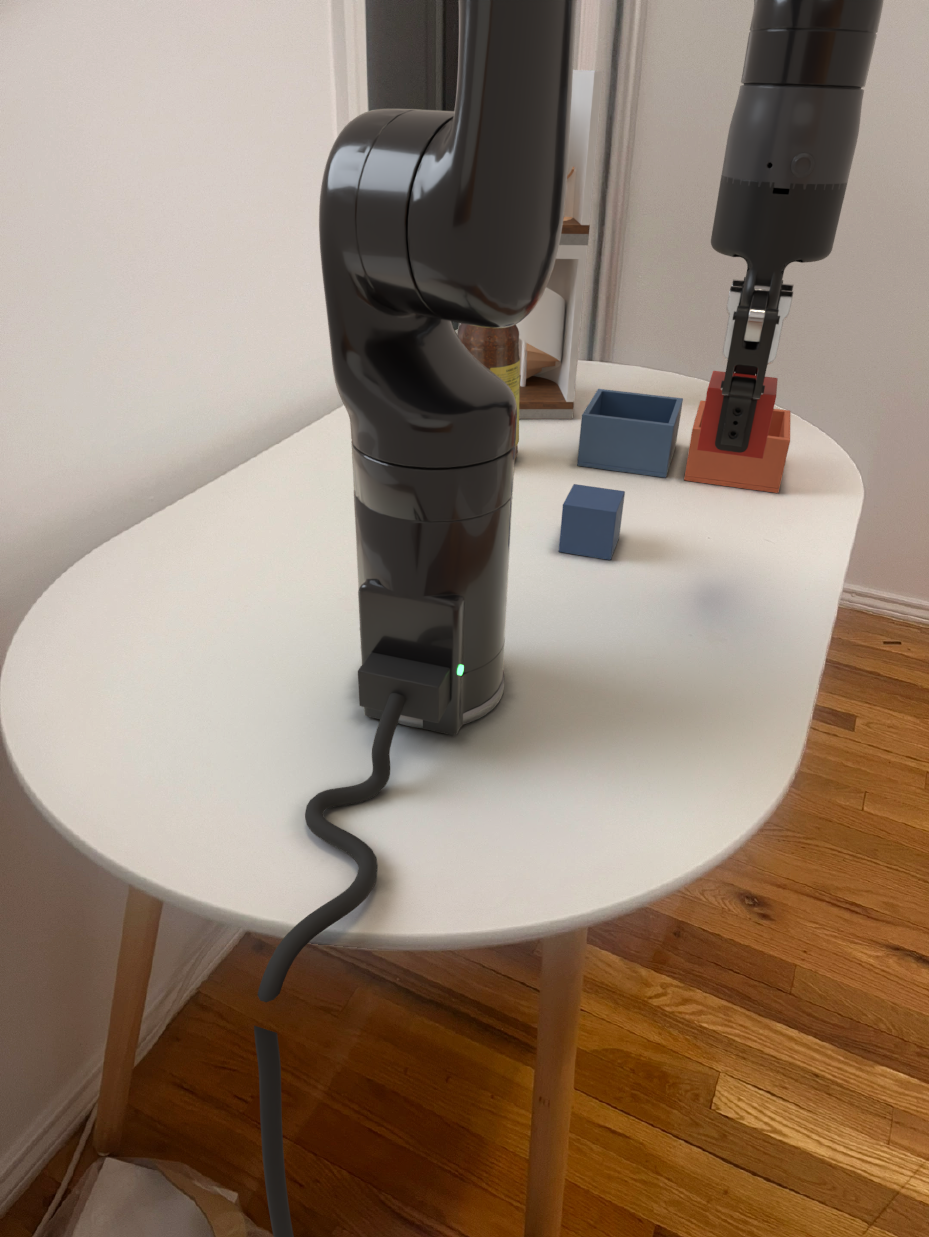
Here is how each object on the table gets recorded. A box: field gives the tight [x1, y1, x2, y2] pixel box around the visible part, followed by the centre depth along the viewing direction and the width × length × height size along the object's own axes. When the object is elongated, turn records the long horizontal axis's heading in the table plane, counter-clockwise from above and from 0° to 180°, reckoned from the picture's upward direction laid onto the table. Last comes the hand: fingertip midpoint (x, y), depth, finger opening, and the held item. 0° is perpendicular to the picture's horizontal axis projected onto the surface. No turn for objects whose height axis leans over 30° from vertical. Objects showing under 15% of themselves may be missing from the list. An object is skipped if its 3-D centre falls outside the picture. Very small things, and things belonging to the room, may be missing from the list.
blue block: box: [558, 483, 626, 561], centre depth 75 cm, size 4×4×4 cm
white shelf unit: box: [516, 69, 605, 420], centre depth 99 cm, size 11×11×35 cm
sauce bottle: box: [457, 323, 520, 460], centre depth 88 cm, size 6×6×20 cm
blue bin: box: [576, 388, 684, 479], centre depth 93 cm, size 9×9×6 cm
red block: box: [697, 370, 779, 459], centre depth 62 cm, size 4×4×4 cm
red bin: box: [683, 400, 791, 494], centre depth 90 cm, size 9×9×6 cm
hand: (732, 436), depth 63 cm, fingers closed on red block, 4 cm apart
